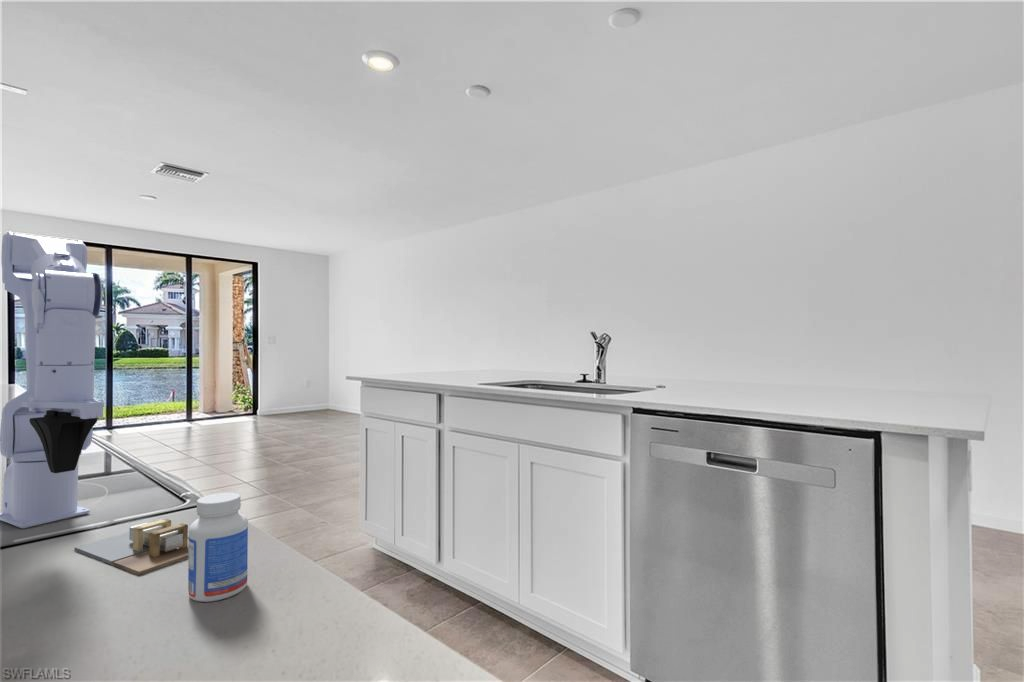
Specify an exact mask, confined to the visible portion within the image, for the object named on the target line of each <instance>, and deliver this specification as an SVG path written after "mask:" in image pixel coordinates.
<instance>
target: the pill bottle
mask: <svg viewBox="0 0 1024 682" xmlns="http://www.w3.org/2000/svg"><path fill="white" fill-rule="evenodd" d="M241 503H242V501H241V495H240V493H236V492H220V493H212V494H208V495H205V496H202V497H200V498H198V499H197V500H196V514H197V516H199V518H197V519H195V520H194V521H193V522H192V523H191V524H190V526H189V527H188V532H189V558H188V565H187V566H188V568H187V569H188V570H187V572H188V575H187V577H188V579H187V582H188V583H187V585H188V586H187V587H188V597H189V598H190V599H191V600H193V601H196V602H201V603H203V602H204V603H209V602H216V601H221V600H225V599H228V598H230V597H233V596H235V595H238V594H239V593H241V592H242V591H243V590H244V589H245V588H246V587H247V584H248V558H249V557H248V548H249V547H248V544H249V543H248V542H249V541H248V540H249V538H248V537H249V536H248V534H249V525H248V523H249V521H248V518H247V516H246V515H244V514H243V513H240V512H239V510H241V507H242V504H241Z"/></svg>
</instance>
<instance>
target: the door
mask: <svg viewBox="0 0 1024 682" xmlns="http://www.w3.org/2000/svg"><path fill="white" fill-rule="evenodd" d="M146 523H147V524H144V525H140V526H136V525H135V526H136V527H133V541H132V540H129V533H130V531H128V532H125V533H120V534H118V535H113V536H110V537H106V538H101V539H98V540H95V541H91V542H89V543H85V544H81V545H77V546H74V549H73V550H74V551H75V552H77V553H80V554H83V555H84V556H88V557H90V558H93V559H96V560H99V561H100V562H103V563H106V564H108V565H113V562H115V561H118V560H121V559H124V558H127V557H131V556H134V555H137V554H140V553H143V552H146V551H149V546H147V545H144V544H143V530H146V529H149V528H153V527H156V526H160V527H164V528H167V527H170V526H172V519H169V518H162V519H159V520H156V521H152V522H146ZM176 531H177V532H178V530H176ZM188 538H189V531H188Z"/></svg>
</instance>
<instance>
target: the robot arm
mask: <svg viewBox="0 0 1024 682" xmlns="http://www.w3.org/2000/svg"><path fill="white" fill-rule="evenodd" d="M0 257H1V260H0V261H1V270H2V272H1V273H2V274H1V275H2V276H1V279H2V281H1V282H2V283H3V284H4V290H5V291H6V292H8V293H11V294H13V295H14V296H16V297H18V298H19V300H20V303H21V306H22V308H23V312H24V329H25V332H24V333H25V334H24V335H25V366H26V367H25V368H26V372H25V375H26V390H25V391H24V392H23V393H21V394H19V395H17V396H15V397H14V398H12V399H11V400H9V401H7V402H6V403H5V405H4V406H3V408H2V411H1V419H0V455H1V456H3V457H4V458H5V459H10V458H11V461H12V462H10V464H9V465H8V466H7V467H6V469H5V471H4V474H3V497H2V498H3V499H2V500H3V501H2V503H3V504H2V512H0V521H1V522H4V523H7V524H10V525H13V526H15V527H17V528H20V529H25V528H30V527H31V528H32V527H34V526H38V525H39V526H40V525H42V524H47V523H52V522H56V521H60V520H65V519H69V518H73V517H78V516H81V515H85V514H89V513H90V512H91V510H90V509H89V508H86V507H82V506H79V505H78V497H79V496H78V490H79V482H78V481H79V459H80V456H81V455H82V454H83V453H82V452H83V451H86V450H87V449H88V448H89V447H90V446H91V444H92V442H93V431H94V430H93V428H94V426H95V425H96V423H98V418H99V419H100V418H104V402H103V401H100V400H98V399H97V398H96V397H94V394H95V393H94V392H95V389H94V388H95V361H96V360H95V356H96V355H95V352H96V350H95V349H96V324H97V322H96V319H97V318H98V317H99V315H100V313H101V309H102V306H103V299H104V298H103V296H104V295H103V293H104V291H103V283H102V278H101V276H100V274H99V273H98V272H91V273H87V266H88V247H87V245H86V244H85V243H84V242H83V240H71V239H70V240H69V239H64V238H63V239H62V238H54V237H45V236H38V235H31V234H22V233H16V232H15V233H14V232H13V231H6V232H5V233H3V235H2V240H1V256H0Z"/></svg>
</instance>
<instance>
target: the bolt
mask: <svg viewBox="0 0 1024 682" xmlns="http://www.w3.org/2000/svg"><path fill="white" fill-rule="evenodd" d="M147 523H148V522H144V523H140V524H135V525H133V526H129V532H130V533H129V540H132V541H133V527H136V526H140V525H144V524H147ZM163 528H164V527H160V526H156V527H153V528H149V529H146V530H143V544H144V545H147V546H149V542H150V532H153V531H156V530H160V529H163ZM182 546H183V533H180V532H177V531H173V532H169V533H166V534H163V535H160V549H159V550H162V551H165V552H167V551H170V550H173V549H176V548H179V547H182Z"/></svg>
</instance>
